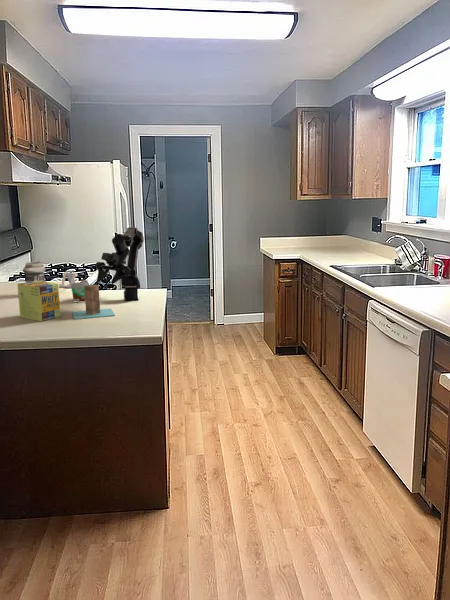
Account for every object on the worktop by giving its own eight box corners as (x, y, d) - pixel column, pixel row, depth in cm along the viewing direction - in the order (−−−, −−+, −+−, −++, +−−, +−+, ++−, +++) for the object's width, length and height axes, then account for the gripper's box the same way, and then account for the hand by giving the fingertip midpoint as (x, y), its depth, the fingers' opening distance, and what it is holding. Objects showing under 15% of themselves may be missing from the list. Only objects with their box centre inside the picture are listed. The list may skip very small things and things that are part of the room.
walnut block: (93, 311, 238) (91, 284, 235) (100, 312, 235) (98, 285, 232) (86, 313, 234) (84, 285, 231) (93, 314, 231) (91, 286, 229)
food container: (83, 303, 258) (81, 284, 256) (72, 302, 259) (70, 283, 257) (94, 298, 270) (92, 279, 268) (83, 298, 271) (82, 279, 269)
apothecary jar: (20, 296, 277) (17, 263, 273) (35, 292, 288) (33, 260, 284) (37, 297, 272) (34, 264, 268) (52, 293, 283) (50, 261, 279)
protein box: (42, 321, 222) (39, 287, 218) (19, 317, 230) (16, 283, 226) (61, 316, 230) (58, 283, 227) (39, 312, 238) (36, 280, 235)
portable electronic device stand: (59, 287, 301) (58, 273, 300) (68, 285, 308) (67, 271, 307) (70, 288, 298) (69, 274, 296) (79, 286, 305) (78, 272, 303)
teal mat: (111, 309, 244) (110, 308, 244) (114, 315, 231) (114, 314, 231) (72, 312, 238) (72, 311, 238) (74, 319, 225) (73, 318, 225)
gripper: (96, 245, 244) (80, 270, 237) (125, 247, 234) (109, 274, 228) (109, 259, 252) (94, 284, 246) (137, 262, 243) (122, 288, 236)
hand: (104, 282), depth 238 cm, fingers open, 9 cm apart
